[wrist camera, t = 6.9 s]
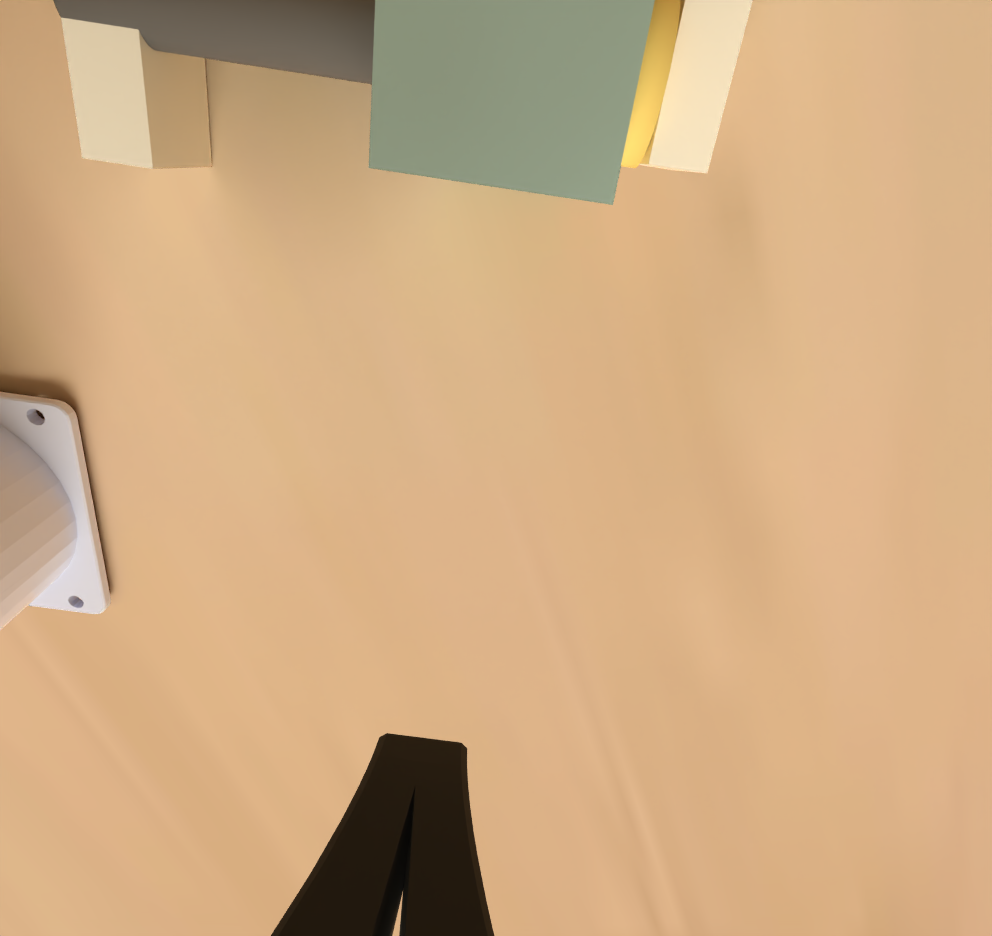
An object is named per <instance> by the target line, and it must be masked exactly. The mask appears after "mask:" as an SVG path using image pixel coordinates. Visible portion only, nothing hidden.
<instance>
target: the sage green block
mask: <svg viewBox="0 0 992 936" xmlns="http://www.w3.org/2000/svg"><path fill="white" fill-rule="evenodd" d="M654 2H655V0H375V20H374V46H373V72H372V98H371V124H370V150H369V168H373V169H380V170H386V171H393V172H399V173H406V174H413V175H419V176H426V177H432V178H439V179H446V180H452V181H459V182H466V183H472V184H479V185H485V186H492V187H499V188H505V189H512V190H518V191H525V192H532V193H538V194H545V195H551V196H558V197H565V198H571V199H578V200H584V201H591V202H598V203H604V204H611V205H613V202H614V197H615V192H616V187H617V182H618V178H619V173H620V168H621V163H622V158H623V153H624V148H625V143H626V138H627V134H628V129H629V124H630V119H631V114H632V109H633V104H634V99H635V95H636V90H637V85H638V80H639V75H640V70H641V65H642V60H643V55H644V51H645V46H646V41H647V36H648V31H649V26H650V21H651V16H652V12H653V7H654Z"/></svg>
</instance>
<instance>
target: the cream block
mask: <svg viewBox="0 0 992 936" xmlns="http://www.w3.org/2000/svg"><path fill="white" fill-rule="evenodd" d="M752 1H753V0H680V14H679V23H678V30H677V36H676V42H675V48H674V53H673V58H672V63H671V68H670V73H669V77H668V81H667V85H666V89H665V93H664V97H663V101H662V105H661V108H660V112H659V115H658V119H657V122H656V125H655V128H654V131H653V134H652V137H651V140H650V143H649V145H648V148H647V150H646V152H645V155H644V157H643V159H642V161H641V162H640V164H639V165H643V166H649V167H656V168H662V169H669V170H677V171H688V172H699V173H707V172H708V168H709V164H710V161H711V157H712V153H713V149H714V145H715V142H716V138H717V134H718V130H719V126H720V123H721V119H722V115H723V111H724V107H725V104H726V100H727V96H728V92H729V88H730V85H731V81H732V77H733V73H734V69H735V66H736V62H737V58H738V54H739V50H740V47H741V43H742V39H743V35H744V31H745V28H746V24H747V20H748V16H749V12H750V9H751V5H752Z"/></svg>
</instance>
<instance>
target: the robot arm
mask: <svg viewBox="0 0 992 936" xmlns="http://www.w3.org/2000/svg"><path fill="white" fill-rule="evenodd" d="M36 410H39V411H40V412H41V413H42V414H43V416H44V418H45V420H44V419H42V418H41V417H40V416H38V414H37V412H36ZM78 597H79V598H80V599H79V598H78ZM81 599H82V600H81ZM110 603H111V597H110V592H109V587H108V581H107V576H106V570H105V565H104V560H103V554H102V549H101V543H100V538H99V533H98V527H97V522H96V516H95V511H94V506H93V500H92V495H91V489H90V484H89V479H88V473H87V468H86V462H85V457H84V452H83V446H82V441H81V435H80V430H79V425H78V419H77V416H76V413H75V411H74V410H73V409H72V407H71V406H70V405H68V404H67V403H65V402H63V401H60V400H56V399H49V398H42V397H34V396H27V395H20V394H13V393H6V392H0V630H1V629H2V628H3V627H5V626H6V625H7V624H8V623H9V622H10V621H11V620H12V619H13V618H15V617H16V616H17V615H18V614H19V613H20V612H21V611H22V610H23V609H24V608H26V607H27V606H28V605H29V606H36V607H44V608H51V609H59V610H67V611H74V612H82V613H90V614H100V613H102V612H104V611H105V609H106V608H107V607H108V606H109V605H110ZM402 892H403V899H402V911H401V923H400V935H399V936H494V933H493V929H492V924H491V920H490V915H489V911H488V906H487V902H486V897H485V892H484V887H483V882H482V877H481V871H480V866H479V861H478V856H477V850H476V844H475V838H474V832H473V825H472V817H471V810H470V801H469V791H468V778H467V748H466V747H465V746H464V745H463V744H462V743H459V742H451V741H443V740H435V739H427V738H419V737H412V736H404V735H396V734H388V733H387V734H385V735H383V736H381V737H379V740H378V743H377V746H376V748H375V751H374V754H373V756H372V758H371V761H370V763H369V765H368V768H367V770H366V772H365V774H364V776H363V779H362V781H361V783H360V785H359V787H358V789H357V791H356V793H355V795H354V797H353V799H352V801H351V803H350V804H349V806H348V808H347V810H346V812H345V814H344V816H343V818H342V820H341V822H340V823H339V825H338V827H337V828H336V830H335V832H334V834H333V835H332V837H331V839H330V841H329V842H328V844H327V846H326V848H325V849H324V851H323V853H322V855H321V856H320V858H319V860H318V862H317V863H316V865H315V867H314V869H313V870H312V872H311V873H310V875H309V877H308V878H307V880H306V882H305V883H304V885H303V886H302V888H301V889H300V891H299V893H298V894H297V896H296V897H295V899H294V900H293V902H292V903H291V905H290V907H289V908H288V910H287V911H286V913H285V914H284V916H283V918H282V919H281V921H280V922H279V924H278V925H277V927H276V928H275V930H274V932H273V933H272V935H271V936H392V934H393V930H394V926H395V921H396V917H397V913H398V909H399V905H400V900H401V896H402Z"/></svg>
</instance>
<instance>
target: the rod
mask: <svg viewBox="0 0 992 936" xmlns="http://www.w3.org/2000/svg"><path fill="white" fill-rule="evenodd" d="M54 3H55V6H56V8H57V10H58V13H59V15H60V16H61V18H68V19H74V20H81V21H87V22H94V23H100V24H106V25H113V26H119V27H126V28H132V29H138V30H139V32H140V34H141V36H142V37H143V39H144V40H145V42H146V43H147V44H148V45H149V46H150V47H151V48H152V49H153V50H156V51H161V52H167V53H174V54H180V55H187V56H193V57H200V58H206V59H213V60H219V61H226V62H232V63H238V64H245V65H251V66H258V67H264V68H271V69H277V70H284V71H290V72H297V73H303V74H309V75H316V76H322V77H329V78H335V79H342V80H348V81H355V82H361V83H368V84H372V72H373V46H374V20H375V0H54ZM679 14H680V0H655V2H654V7H653V12H652V16H651V21H650V26H649V31H648V36H647V41H646V46H645V51H644V55H643V60H642V65H641V70H640V75H639V80H638V85H637V90H636V95H635V99H634V104H633V109H632V114H631V119H630V124H629V129H628V134H627V138H626V143H625V148H624V153H623V158H622V163H621V166H624V167H630V168H636V167H637V166H638V165H639V164H640V162H641V161H642V159H643V157H644V155H645V152H646V150H647V148H648V145H649V143H650V140H651V137H652V134H653V131H654V128H655V125H656V122H657V119H658V115H659V112H660V108H661V105H662V101H663V97H664V93H665V89H666V85H667V81H668V77H669V73H670V68H671V63H672V58H673V53H674V48H675V42H676V36H677V30H678V23H679Z"/></svg>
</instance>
